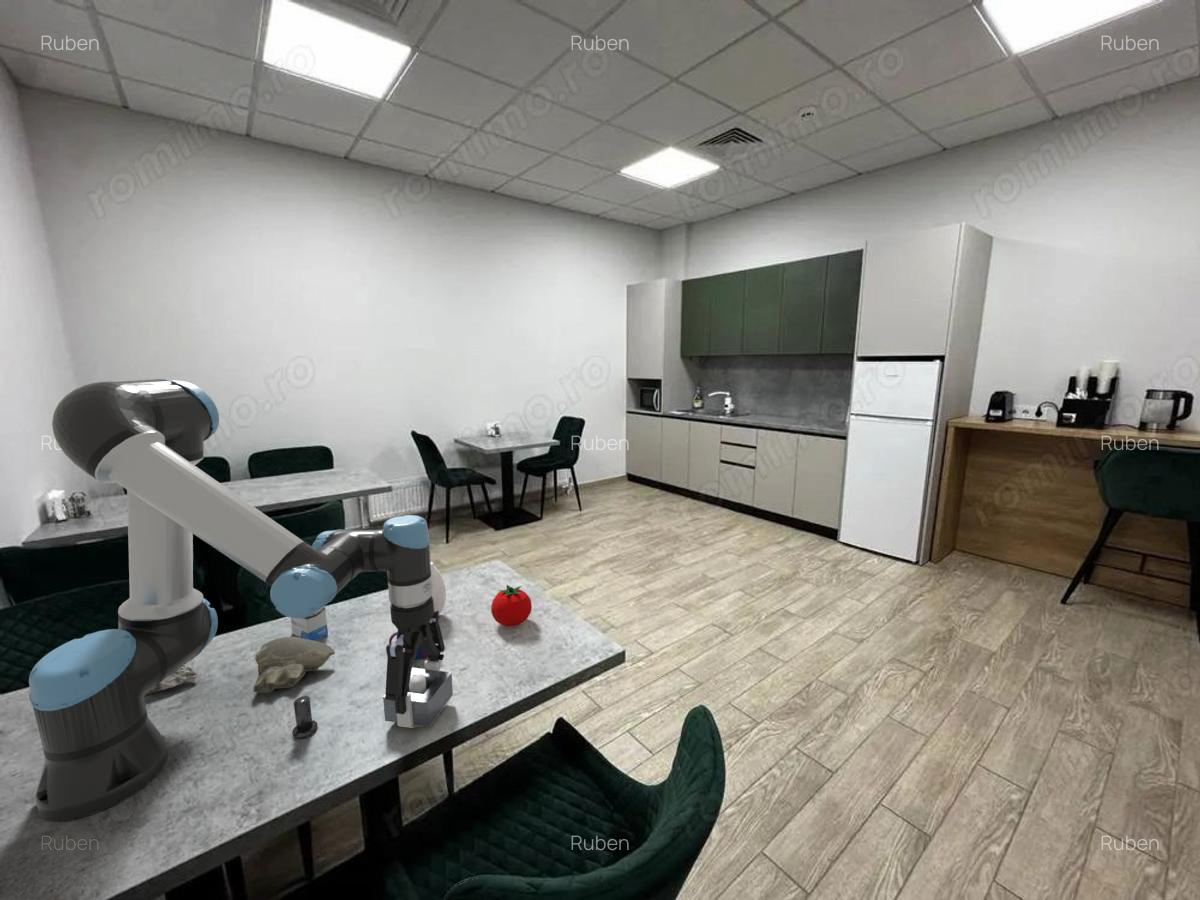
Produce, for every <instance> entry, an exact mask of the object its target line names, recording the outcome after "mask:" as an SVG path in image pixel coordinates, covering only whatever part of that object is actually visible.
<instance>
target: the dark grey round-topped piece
mask: <svg viewBox="0 0 1200 900" xmlns="http://www.w3.org/2000/svg"><path fill="white" fill-rule="evenodd" d="M311 706H312V705H311V698H310V696H308V695H303V696H300V697H298V698H296V699H295V700H294V701H293V708H294V716H295V717H294V718H295V726H294V727H293V728H292V732H291V733H292V737H293V739H295V740H302V739H306V738H308V737H311V736H313V734H315V733H316V732H317V730H318V728H319V727H318V725H319V724H318V722H317V721H316V720H314V719H313V717H312V707H311Z"/></svg>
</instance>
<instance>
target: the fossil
mask: <svg viewBox="0 0 1200 900" xmlns="http://www.w3.org/2000/svg"><path fill="white" fill-rule="evenodd" d="M333 655H335V650H334V649H333V648H332V647H331V646H330V645H329V644H327V643H324V642H321V641H317V640H315V641H314V640H308V639H303V638H300V637H298V636H281V637H277V638H275V639H273V640H269V641H267V642H266V643H264V644H263V645H262V646H261V647H260V650H259V651H258V652H256V654H255V657H254V659H255V662H256V665H257V673H258V674H257V675H258V677H257V678H256V680H255V684H254V685H253V689H252V691H253V693H264V694H265V693H266V694H267V693H271V692H273V691H275V689H285V688H286V689H287V688H292V687H295V686H296V685H297V684H298V683H299V682H300V681H301V680H302V678H303V677H304V675H305V674H306V672H308V671H315V670H318V669H320V668H321V667H322V666H324V664H325V663H326V662H327V661H328V660H329V659H330V657H331V656H333Z"/></svg>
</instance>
